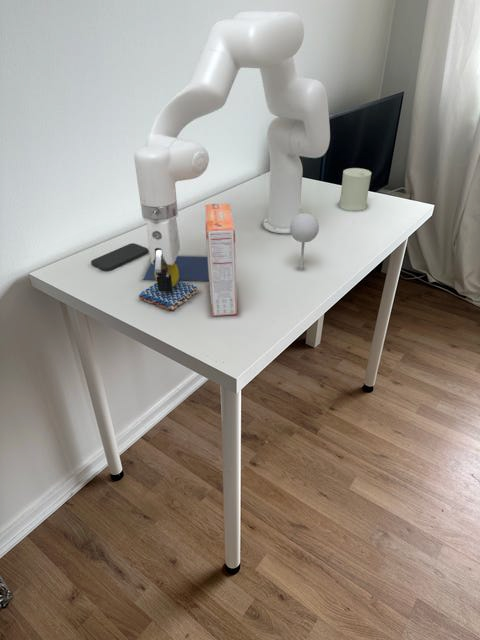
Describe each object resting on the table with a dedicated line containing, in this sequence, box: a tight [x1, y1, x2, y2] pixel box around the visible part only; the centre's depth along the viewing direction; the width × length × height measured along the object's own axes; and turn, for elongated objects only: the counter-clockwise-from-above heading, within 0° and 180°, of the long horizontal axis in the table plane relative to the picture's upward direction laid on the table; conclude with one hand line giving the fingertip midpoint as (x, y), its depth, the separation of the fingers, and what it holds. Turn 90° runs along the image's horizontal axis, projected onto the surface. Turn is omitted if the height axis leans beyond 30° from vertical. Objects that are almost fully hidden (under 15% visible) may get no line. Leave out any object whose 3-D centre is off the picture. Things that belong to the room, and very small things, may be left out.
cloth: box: [142, 255, 209, 282], centre depth 118 cm, size 18×13×1 cm
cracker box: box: [204, 203, 238, 317], centre depth 100 cm, size 14×6×21 cm, turn 5°
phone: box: [90, 243, 149, 272], centre depth 123 cm, size 7×1×15 cm
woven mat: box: [138, 281, 199, 311], centre depth 107 cm, size 10×11×2 cm
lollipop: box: [290, 212, 320, 270], centre depth 113 cm, size 7×7×15 cm
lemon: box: [155, 260, 179, 287], centre depth 104 cm, size 6×6×8 cm
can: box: [338, 167, 372, 212], centre depth 151 cm, size 9×9×12 cm
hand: (168, 283), depth 105 cm, fingers closed on lemon, 5 cm apart
